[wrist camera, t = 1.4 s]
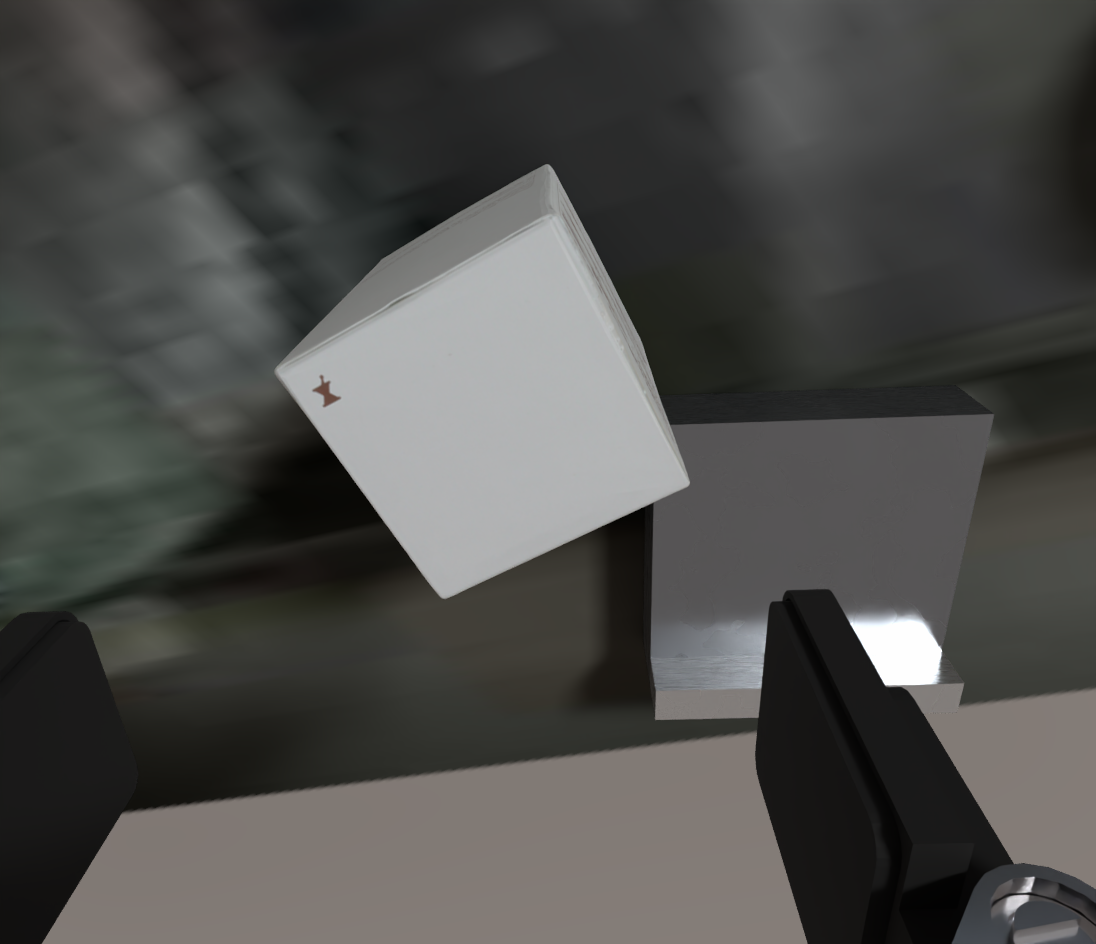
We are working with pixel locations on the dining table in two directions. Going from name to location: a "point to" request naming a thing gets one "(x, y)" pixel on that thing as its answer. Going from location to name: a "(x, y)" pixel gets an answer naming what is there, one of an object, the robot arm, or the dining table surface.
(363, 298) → the supplement box
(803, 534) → the stand plate
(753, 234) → the dining table surface
